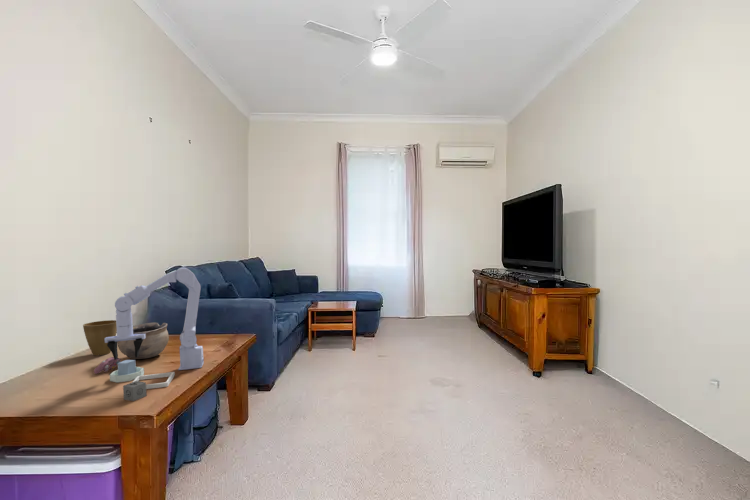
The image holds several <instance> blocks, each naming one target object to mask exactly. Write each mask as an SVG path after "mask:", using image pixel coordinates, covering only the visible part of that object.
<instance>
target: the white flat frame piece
mask: <svg viewBox="0 0 750 500" xmlns="http://www.w3.org/2000/svg"><path fill="white" fill-rule="evenodd" d="M175 374H176V373H175V371H170V372H161V373H153V374H143V375H142V376H137V377H136V379H134V380H132V382H135V381H144V380H150V379H162V378H167V377H168V378H167V380H166V381H165V382H157V383H146V390H151V389H158V388H165V387H166V388H167V387H169V385H170V384H171V382H172V380H173V379H174V377H175Z"/></svg>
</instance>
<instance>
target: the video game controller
mask: <svg viewBox="0 0 750 500" xmlns="http://www.w3.org/2000/svg"><path fill="white" fill-rule="evenodd" d="M119 362H122V361H121V358H119V357H118V358H117V359H116V360H114V357H111V356H110V357H107V358H106V359H104V360H102V361H101V362H100V363H99V364H98V366H96V367H95V368H94V370H93V373H94V374H95V375H97V374H100V373H101V372H102V371H103V372H105V373H107V372H108V371H109V370H114V369H115V368H116V367H117V366H118V363H119Z"/></svg>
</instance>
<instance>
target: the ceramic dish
mask: <svg viewBox="0 0 750 500" xmlns="http://www.w3.org/2000/svg"><path fill="white" fill-rule="evenodd" d="M142 375H145V368H144V367H142V366H141V367H140V366H136V372H135V373H132V374H129V375H120V376H118V369H117V370H114V371H112V372H111V373H110V374H109V382H112V383H124V382H125V383H126V382H130V381H131V382H132V381H134V380H135V379H136V377H137V376H142Z"/></svg>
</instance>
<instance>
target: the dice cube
mask: <svg viewBox="0 0 750 500" xmlns="http://www.w3.org/2000/svg"><path fill="white" fill-rule="evenodd" d="M146 385H147V383H146V382H145V381H141V380H139V381H135V382H133V381H131V382H129V383H126V384H125V385H123V386H122V389H123V400H125V401H130V402H136V401H137V400H140V399H142V398H145V397H147V395H148V394H147V389H146Z"/></svg>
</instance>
